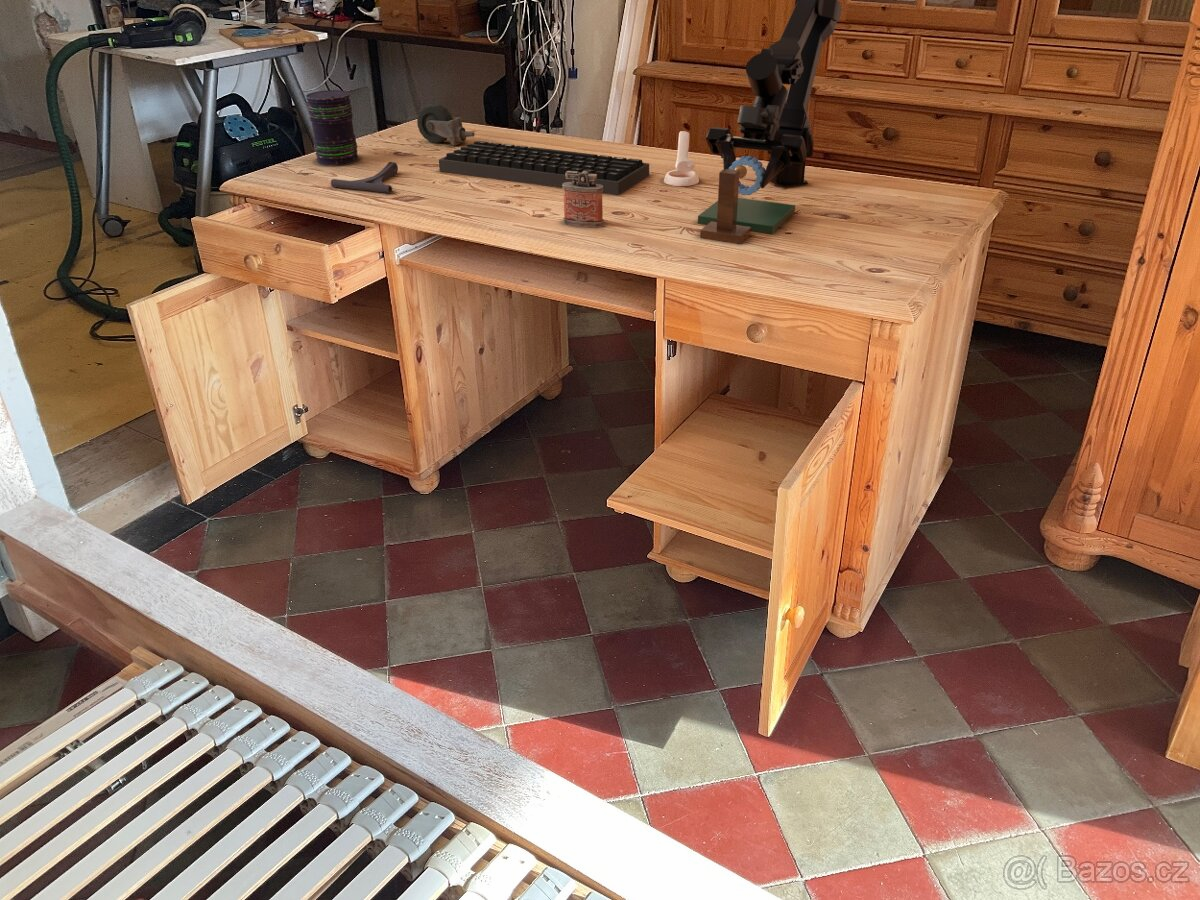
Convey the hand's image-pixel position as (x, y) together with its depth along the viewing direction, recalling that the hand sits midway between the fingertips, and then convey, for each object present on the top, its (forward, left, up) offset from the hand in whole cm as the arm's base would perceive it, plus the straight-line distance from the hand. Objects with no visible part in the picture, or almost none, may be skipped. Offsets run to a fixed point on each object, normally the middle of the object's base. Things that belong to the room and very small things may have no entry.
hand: (743, 184), depth 184 cm
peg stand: (+5, +4, -7) cm, 10 cm away
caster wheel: (+35, -85, -8) cm, 92 cm away
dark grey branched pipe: (+58, -59, -8) cm, 83 cm away
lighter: (+28, -13, -8) cm, 31 cm away
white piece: (-2, -30, -8) cm, 31 cm away
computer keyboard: (+23, -49, -8) cm, 54 cm away
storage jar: (+63, -81, -8) cm, 102 cm away
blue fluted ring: (-1, -1, -2) cm, 3 cm away
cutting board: (-3, -2, -7) cm, 8 cm away
